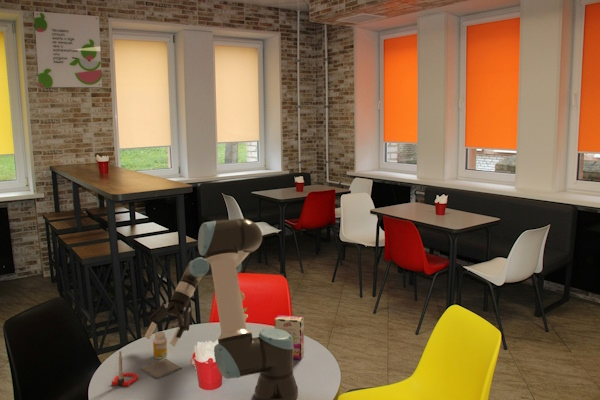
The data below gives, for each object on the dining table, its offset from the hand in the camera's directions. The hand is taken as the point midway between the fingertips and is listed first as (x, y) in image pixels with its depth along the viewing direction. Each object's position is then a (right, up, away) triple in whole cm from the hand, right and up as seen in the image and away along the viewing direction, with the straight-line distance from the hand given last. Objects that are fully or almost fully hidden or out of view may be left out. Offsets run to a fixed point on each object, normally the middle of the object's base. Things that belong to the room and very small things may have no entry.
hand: (159, 341), depth 221 cm
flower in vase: (+32, -5, +9) cm, 34 cm away
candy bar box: (+53, -6, +1) cm, 53 cm away
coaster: (+4, -8, -10) cm, 14 cm away
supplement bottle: (0, -6, +1) cm, 6 cm away
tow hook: (-7, -10, -19) cm, 23 cm away
